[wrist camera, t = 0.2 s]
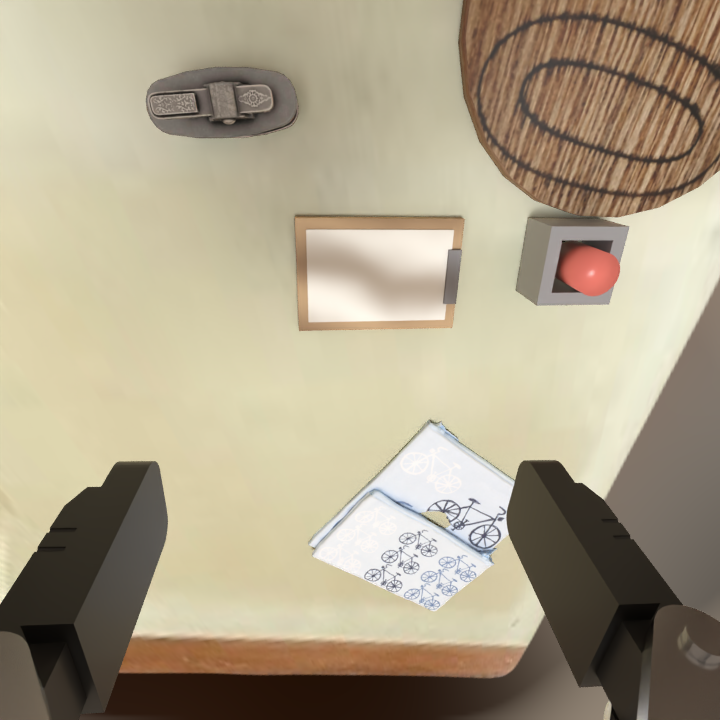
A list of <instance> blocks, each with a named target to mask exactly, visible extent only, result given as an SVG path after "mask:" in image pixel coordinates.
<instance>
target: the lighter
mask: <svg viewBox="0 0 720 720" xmlns="http://www.w3.org/2000/svg"><path fill="white" fill-rule="evenodd" d="M146 106H147V111H148V114H149V116H150V119H151V120H152V122H153V123H154V124H155V126H156V127H157V128H159V129H160V130H161V131H162V132H165V133H167V134H170V135H178V136H187V137H195V138H246V137H252V136H258V135H265V134H269V133H272V132H276V131H279V130H282V129H286V128H288V127H290V126H292V125H293V124H294V122H295V121H296V119H297V116H298V102H297V96H296V92H295V89H294V87H293V85H292V83H291V81H290V80H289V79H288V78H287V77H286V76H285V75H284V74H281V73H278V72H275V71H268V70H262V69H255V68H248V67H213V68H206V69H200V70H194V71H187V72H183V73H180V74H177V75H173V76H170V77H167V78H164V79H160V80H158V81H156V82H154V83H153V84H152V85H151V86H150V88H149V89H148V91H147V96H146Z"/></svg>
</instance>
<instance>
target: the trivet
mask: <svg viewBox="0 0 720 720" xmlns="http://www.w3.org/2000/svg"><path fill="white" fill-rule="evenodd" d="M458 44H459V54H460V64H461V74H462V84H463V94H464V99H465V102H466V105H467V107H468V110H469V113H470V116H471V119H472V122H473V125H474V127H475V130H476V133H477V136H478V139H479V142H480V143H481V145H482V146H483V147H484V149H485V150H486V152H487V153H488V155H489V156H490V158H491V159H492V160H493V162H494V163H495V165H496V166H497V168H498V169H499V170H500V172H501V173H502V175H503V176H504V177H505V178H506V179H508V180H509V181H510V182H511V183H513V184H514V185H515V186H516V187H518V188H519V189H520V190H522V191H523V192H524V193H525V194H527V195H528V196H529V197H531V198H532V199H533V200H535V201H538V202H540V203H543V204H546V205H549V206H552V207H554V208H557V209H560V210H563V211H565V212H568V213H572V214H575V215H579V216H600V217H621V216H625V215H629V214H634V213H638V212H642V211H646V210H650V209H654V208H658V207H661V206H662V205H664V204H666V203H668V202H670V201H672V200H674V199H676V198H678V197H680V196H682V195H684V194H686V193H688V192H690V191H692V190H694V189H696V188H698V187H699V186H701V185H702V184H703V183H704V182H706V181H707V180H708V179H709V178H711V177H712V176H713V175H714V174H715V173H717V172H718V171H719V170H720V0H463V8H462V16H461V25H460V34H459V42H458Z"/></svg>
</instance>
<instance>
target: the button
mask: <svg viewBox="0 0 720 720" xmlns="http://www.w3.org/2000/svg"><path fill="white" fill-rule="evenodd" d="M619 273H620V265H619V262H618V260H617V258H616V257H615V256H614V255H612V254H610V253H607V252H605V251H602V250H599V249H597V248H594V247H591V246H589V245H586V244H584V243H581V242H578V241H567V242H564V243H562V244H561V249H560V254H559V259H558V264H557V268H556V273H555V278H556V279H558V280H560V281H562V282H563V283H565V284H567V285H569V286H571V287H572V288H574V289H576V290H578V291H579V292H581V293H583V294H585V295H587V296H599V295H602V294H604V293H605V292H607V291H608V290H610V289H611V288H612V287H613V286H614V284H615V283H616V281H617V279H618V277H619Z"/></svg>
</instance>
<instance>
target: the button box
mask: <svg viewBox="0 0 720 720" xmlns="http://www.w3.org/2000/svg"><path fill="white" fill-rule="evenodd" d="M628 230H629V226H625V225H621V224H618V223H614V222H610V221H607V220H603V219H599V218H528V222H527V228H526V234H525V239H524V245H523V251H522V257H521V263H520V269H519V275H518V281H517V286H516V291H517V292H519V293H520V294H522V295H523V296H524V297H526V298H527V299H528V300H530V301H531V302H533V303H534V304H535V305H601V304H609V302H610V299H611V295H612V291H613V287H614V286H613V287H612V288H611V289H610V290H608V291H607V292H605V293H604V294H602V295H599V296H587V295H585V294H583V293H581V292H579V291H578V290H576V289H574V288H572V287H571V286H569V285H567V284H565V283H563V282H562V281H560V280H558V279H554V278H555V273H556V268H557V264H558V259H559V254H560V249H561V244H562V240H582V243H584V244H586V245H589V246H591V247H594V248H597V249H599V250H602V251H605V252H607V253H610V254H612V255H614V256H615V257H616V258H617V260H618V262H619V264H620V260H621V257H622V253H623V249H624V245H625V241H626V238H627V234H628Z"/></svg>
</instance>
